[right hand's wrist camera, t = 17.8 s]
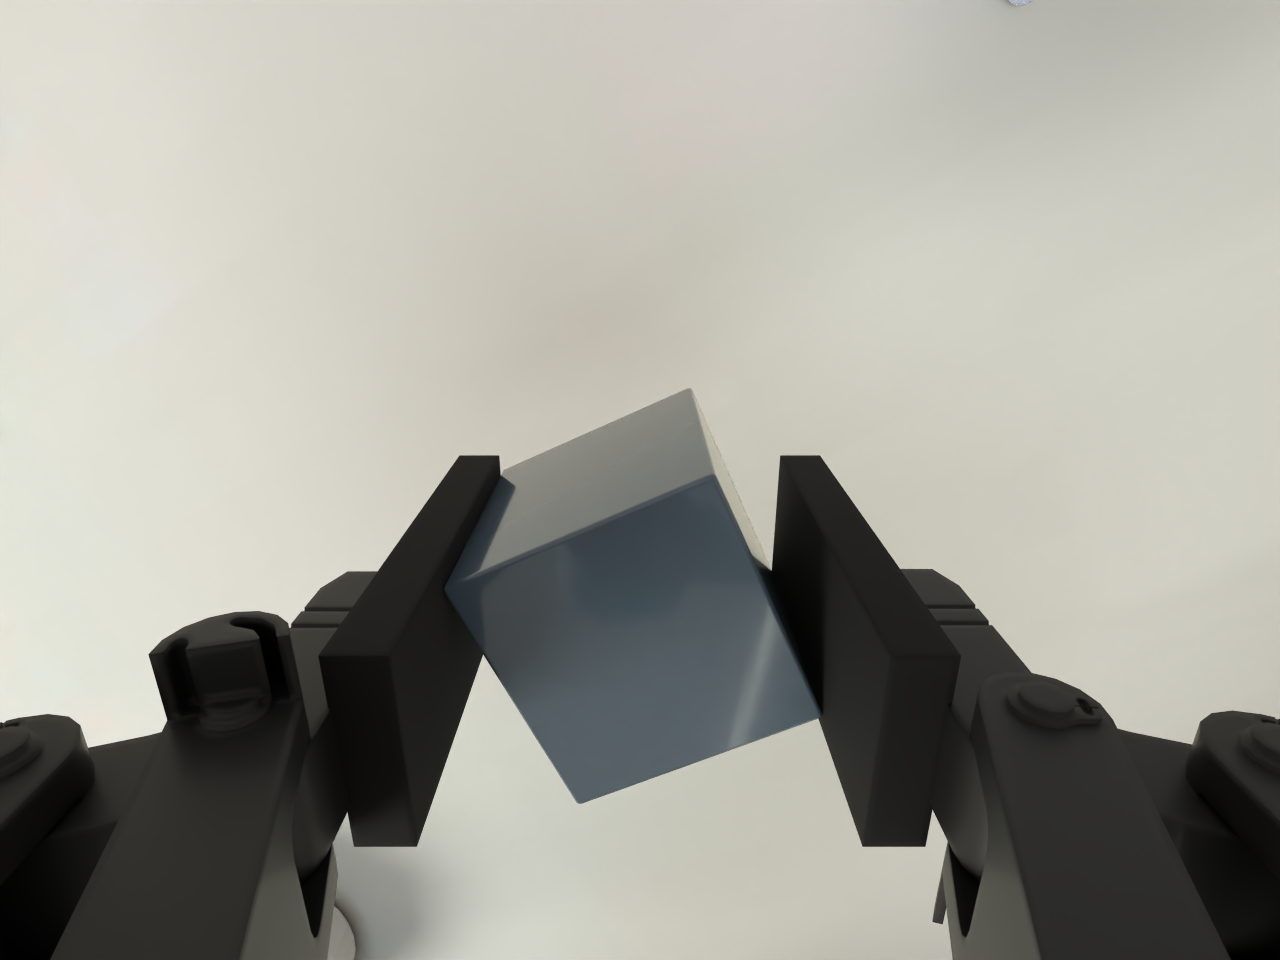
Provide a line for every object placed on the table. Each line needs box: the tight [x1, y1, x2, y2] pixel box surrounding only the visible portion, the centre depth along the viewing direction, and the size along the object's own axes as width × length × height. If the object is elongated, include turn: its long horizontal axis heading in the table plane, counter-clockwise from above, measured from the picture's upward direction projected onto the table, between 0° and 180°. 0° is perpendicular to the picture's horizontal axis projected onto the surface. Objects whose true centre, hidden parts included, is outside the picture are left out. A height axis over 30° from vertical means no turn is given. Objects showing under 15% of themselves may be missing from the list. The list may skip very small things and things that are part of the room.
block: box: [443, 388, 822, 804], centre depth 12 cm, size 4×4×5 cm
